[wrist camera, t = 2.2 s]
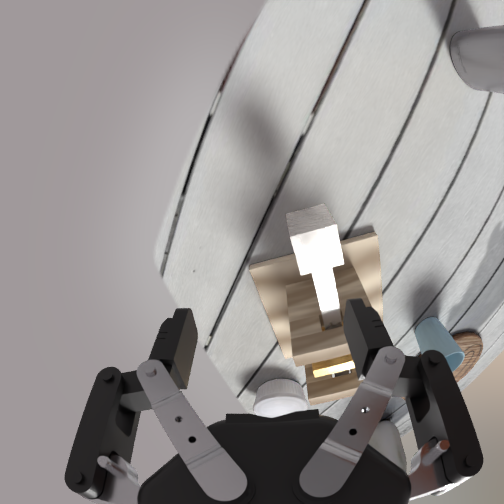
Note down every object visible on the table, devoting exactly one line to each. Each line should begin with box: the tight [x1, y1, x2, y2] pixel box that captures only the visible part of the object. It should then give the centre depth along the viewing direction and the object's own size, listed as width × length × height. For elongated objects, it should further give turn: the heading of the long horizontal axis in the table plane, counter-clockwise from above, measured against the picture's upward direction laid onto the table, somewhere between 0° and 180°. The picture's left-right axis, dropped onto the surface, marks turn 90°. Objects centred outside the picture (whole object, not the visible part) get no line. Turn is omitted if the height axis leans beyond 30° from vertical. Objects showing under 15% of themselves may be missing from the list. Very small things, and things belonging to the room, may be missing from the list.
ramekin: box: [253, 379, 308, 418], centre depth 53 cm, size 11×11×5 cm
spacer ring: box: [312, 322, 355, 377], centre depth 34 cm, size 2×7×7 cm, turn 108°
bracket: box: [249, 232, 383, 405], centre depth 36 cm, size 20×18×14 cm
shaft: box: [286, 203, 349, 377], centre depth 31 cm, size 26×4×5 cm, turn 18°
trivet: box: [401, 332, 483, 400], centre depth 52 cm, size 25×25×2 cm
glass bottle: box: [368, 421, 407, 472], centre depth 54 cm, size 10×10×28 cm
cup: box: [415, 317, 465, 372], centre depth 41 cm, size 8×8×10 cm
